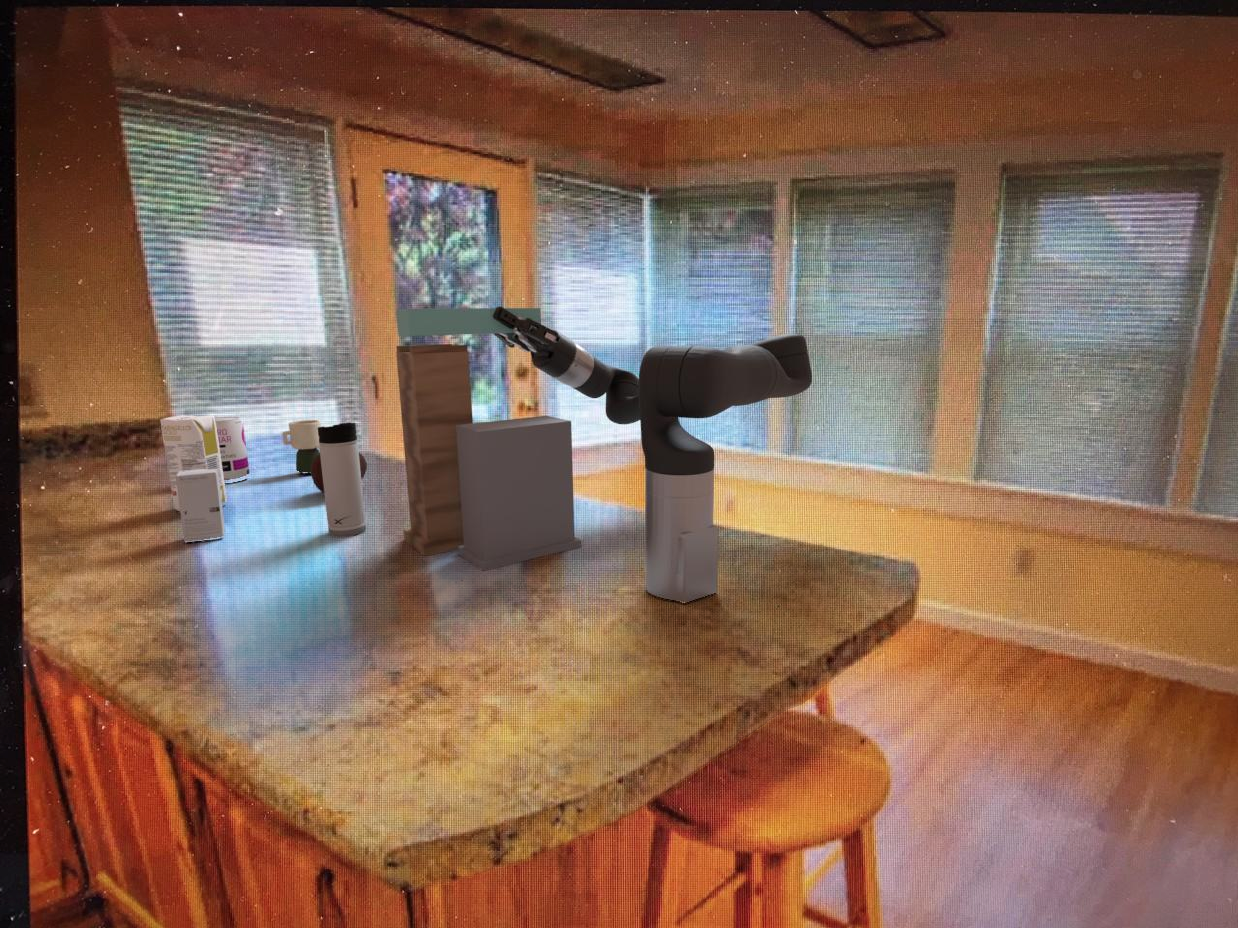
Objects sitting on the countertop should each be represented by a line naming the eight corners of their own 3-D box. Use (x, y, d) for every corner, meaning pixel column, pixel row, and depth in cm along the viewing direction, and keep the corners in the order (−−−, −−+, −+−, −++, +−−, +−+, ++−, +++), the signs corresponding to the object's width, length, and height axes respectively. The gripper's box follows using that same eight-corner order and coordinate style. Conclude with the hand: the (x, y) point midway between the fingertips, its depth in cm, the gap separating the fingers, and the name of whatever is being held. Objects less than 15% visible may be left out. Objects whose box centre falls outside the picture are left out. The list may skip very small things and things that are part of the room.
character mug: (326, 467, 174) (320, 418, 171) (337, 471, 169) (332, 420, 167) (282, 474, 167) (275, 423, 164) (293, 479, 162) (286, 426, 159)
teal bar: (541, 331, 116) (540, 308, 115) (409, 336, 101) (407, 308, 100) (528, 332, 119) (527, 309, 118) (398, 336, 104) (396, 310, 103)
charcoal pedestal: (581, 546, 111) (578, 421, 106) (482, 570, 101) (474, 433, 96) (552, 532, 119) (547, 414, 114) (457, 553, 109) (449, 425, 104)
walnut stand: (488, 542, 114) (476, 345, 107) (424, 555, 108) (408, 347, 101) (464, 528, 122) (452, 343, 115) (404, 540, 116) (387, 346, 109)
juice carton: (206, 514, 133) (192, 419, 129) (168, 513, 134) (152, 419, 130) (233, 504, 140) (220, 414, 136) (196, 503, 141) (183, 413, 137)
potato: (379, 486, 153) (375, 442, 151) (348, 502, 141) (343, 453, 139) (334, 485, 155) (329, 441, 153) (299, 500, 142) (293, 452, 140)
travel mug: (342, 539, 116) (330, 425, 112) (322, 533, 120) (309, 422, 116) (374, 530, 121) (363, 421, 117) (353, 524, 125) (342, 418, 121)
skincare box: (184, 544, 115) (173, 475, 112) (187, 537, 119) (176, 470, 116) (225, 539, 118) (215, 471, 115) (227, 532, 122) (217, 466, 119)
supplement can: (246, 475, 167) (238, 415, 164) (253, 480, 161) (245, 418, 158) (208, 480, 162) (199, 418, 159) (214, 486, 156) (205, 422, 153)
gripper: (580, 379, 116) (502, 331, 105) (534, 377, 127) (459, 333, 116) (595, 340, 118) (520, 288, 106) (548, 342, 128) (475, 295, 117)
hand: (488, 312), depth 111 cm, fingers closed on teal bar, 4 cm apart
